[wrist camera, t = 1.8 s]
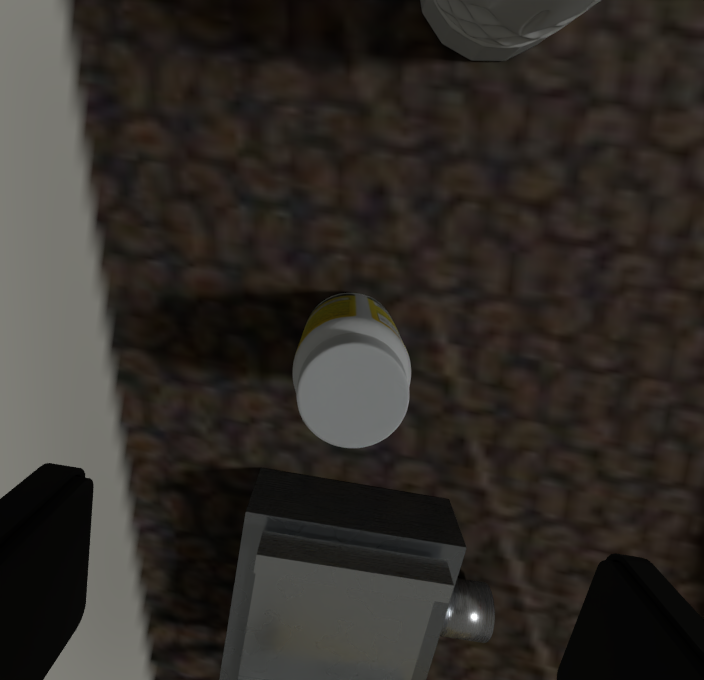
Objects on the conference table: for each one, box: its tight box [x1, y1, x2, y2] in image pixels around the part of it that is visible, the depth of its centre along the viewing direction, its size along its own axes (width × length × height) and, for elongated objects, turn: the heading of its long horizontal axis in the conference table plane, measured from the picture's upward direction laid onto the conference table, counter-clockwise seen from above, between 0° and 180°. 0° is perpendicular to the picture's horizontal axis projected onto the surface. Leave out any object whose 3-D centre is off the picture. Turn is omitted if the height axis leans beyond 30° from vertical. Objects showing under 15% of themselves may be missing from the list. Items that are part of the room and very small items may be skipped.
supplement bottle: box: [292, 293, 411, 448], centre depth 20 cm, size 5×5×8 cm
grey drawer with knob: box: [219, 468, 495, 680], centre depth 25 cm, size 11×14×6 cm
